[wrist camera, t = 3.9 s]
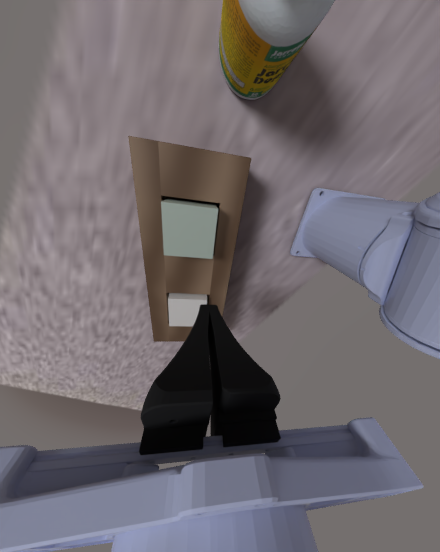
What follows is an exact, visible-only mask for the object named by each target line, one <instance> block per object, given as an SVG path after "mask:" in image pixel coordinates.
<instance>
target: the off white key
mask: <svg viewBox="0 0 440 552" xmlns="http://www.w3.org/2000/svg"><path fill="white" fill-rule="evenodd" d="M201 304H206V305H207V295H206V294H183V293H169V297H168V310H169V326H193V325H194V323H195V321H196V318H197V315H198V312H199V308H200V305H201Z"/></svg>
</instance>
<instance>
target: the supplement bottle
mask: <svg viewBox="0 0 440 552" xmlns="http://www.w3.org/2000/svg"><path fill="white" fill-rule="evenodd" d="M334 1H335V0H223V7H222V16H221V25H220V35H219V59H220V65H221V69H222V73H223V76H224V78H225V80H226V82H227V84H228V86H229V87H230V89H231V90H232V91H233V92H234V93H235V94H236V95H238V96H239V97H241V98H244V99H249V100H255V99H258V98H261V97H262V96H264V95H265V94H267V93H268V92H269V91H270V90H271V89H272V88H273V86H274V85H275V84H276V83H277V81H278V80H279V79H280V77H281V76H282V74H283V73H284V72H285V70H286V69H287V68H288V66H289V65H290V64H291V62H292V61H293V59H294V58H295V57H296V55H297V54H298V53H299V51H300V50H301V49H302V47H303V46H304V44H305V43H306V42H307V40H308V39H309V38H310V37H311V35H312V34H313V32H314V31H315V30H316V28H317V27H318V25H319V24H320V23H321V21H322V20H323V19H324V17H325V16H326V14H327V13H328V11H329V10H330V8H331V6H332V5H333V3H334Z"/></svg>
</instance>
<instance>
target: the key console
mask: <svg viewBox="0 0 440 552" xmlns="http://www.w3.org/2000/svg"><path fill="white" fill-rule="evenodd" d="M128 137H129V145H130V153H131V161H132V169H133V177H134V185H135V193H136V201H137V209H138V217H139V225H140V233H141V241H142V249H143V258H144V266H145V274H146V282H147V290H148V298H149V306H150V314H151V322H152V330H153V338H154V341H185V340H186V339H187V337H188V335H189V333H190V331H191V329H192V327H193V326H169V310H168V297H169V293H183V294H206V295H207V305H217V306H218V309H219V311H220V313H221V316H222V315H223V310H224V305H225V299H226V294H227V288H228V283H229V277H230V272H231V266H232V261H233V255H234V250H235V244H236V239H237V234H238V228H239V223H240V217H241V212H242V206H243V201H244V195H245V190H246V184H247V179H248V173H249V168H250V162H251V158H249V157H243V156H237V155H232V154H226V153H221V152H215V151H210V150H204V149H199V148H193V147H188V146H182V145H177V144H171V143H166V142H160V141H154V140H149V139H143V138H138V137H132V136H128ZM166 199H176V200H184V201H192V202H199V203H207V204H215V205H216V206H217V208H218V215H217V224H216V233H215V242H214V251H213V259H206V258H193V257H180V256H167V255H164V248H163V230H162V211H161V201H164V200H166Z"/></svg>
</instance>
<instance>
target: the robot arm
mask: <svg viewBox="0 0 440 552" xmlns="http://www.w3.org/2000/svg"><path fill="white" fill-rule="evenodd" d="M320 192H322V194H321V195H319V194H320ZM297 251H299V252H298V253H296V252H297ZM290 254H291V255H293V256H302V257H314V258H319V259H321V260H322V261H324V262H326V263H327V264H329V265H330V266H332V267H333V268H335V269H337V270H338V271H340V272H341V273H343V274H345V275H346V276H348V277H349V278H351V279H352V280H354V281H356V282H357V283H359V284H360V285H362V286H363V287H365V288H366V289H367V290H368V293H369V294H368V297H369V298H371V299H372V300H374V301H375V302H377V303H378V304H380V305H381V306H380V310H379V315H380V318H381V321H382V322H383V324H384V325H385V326H386V328H387V329H388V330H389V331H391V333H393V334H394V335H395V336H396V337H397V338H399V339H400V340H402V341H403V342H405V343H406V344H408V345H410V346H412V347H413V348H415V349H417V350H420V351H421V352H424V353H426V354H428V355H431V356H433V357H436V358H438V359H440V192H439V193H437V194H435V195H433V196H432V197H429V198H426V199H425V200H423V201H421V202H420V203H416V202H404V201H393V200H385V199H384V198H378V197H372V196H366V195H359V194H353V193H347V192H341V191H335V190H328V189H322V188H315V189H314V190H313V191H312V193H311V196H310V199H309V201H308V204H307V207H306V209H305V212H304V215H303V218H302V220H301V223H300V226H299V228H298V231H297V234H296V236H295V239H294V242H293V245H292V247H291V250H290ZM209 359H210V361H209ZM279 401H280V394H279V392H278V389H277V387H276V385H275V383H274V381H273V379H272V377H271V376H270V375H269V374H268V373H267V372H265V371H264V370H263V369H262V368H261V367H260V366H259V365H258V364H257V363H256V362H255V361H254V360H253V359H252V358H251V357H250V356H249V355H248V354H247V353H246V352H245V350H244V349H243V348H242V347H241V346H240V344H239V343H238V342H237V340H236V339H235V338H234V336H233V335H232V333H231V332H230V330H229V328H228V327H227V325H226V323H225V321H224V320H223V318H222V316H221V313H220V311H219V309H218V306H217V305H206V304H201V305H200V308H199V312H198V315H197V318H196V321H195V323H194V325H193V327H192V329H191V331H190V333H189V335H188V337H187V339H186V340H185V342H184V343H183V345H182V347H181V348H180V350H179V351H178V352H177V354H176V355H175V357H174V358H173V359H172V360H171V362H170V363H169V364H168V366H167V367H166V368H165V369H164V370H163V371H162V372H161V374H160V375H159V376H158V377H157V378H156V379H155V380H154V382H153V384H152V386H151V388H150V390H149V392H148V394H147V397H146V399H145V402H144V405H143V409H142V413H141V420H142V423H143V425H144V432H143V436H142V440H141V442H139V443H127V444H116V445H104V446H92V447H80V448H68V449H56V450H45V451H37V449H36V448H35V447H33V446H28V445H21V446H20V445H19V446H6V447H0V552H49V551H56V550H62V549H69V548H76V547H83V546H90V545H96V544H103V543H110V542H113V546H112V550H111V552H318V549H317V546H316V543H315V540H314V536H313V533H312V530H311V527H310V523H309V520H308V517H307V514H306V511H307V510H312V509H318V508H323V507H329V506H335V505H340V504H346V503H352V502H357V501H363V500H369V499H375V498H381V497H388V496H392V495H396V494H400V493H404V492H409V491H413V490H417V489H421V488H423V484H422V483H421V482H420V481H419V479H418V478H417V476H416V475H415V474H414V472H413V471H412V470H411V468H410V467H409V465H408V464H407V463H406V461H405V460H404V458H403V457H402V456H401V454H400V453H399V451H398V450H397V449H396V447H395V446H394V445H393V443H392V442H391V441H390V439H389V438H388V436H387V435H386V434H385V432H384V431H383V429H382V428H381V427H380V425H379V424H378V423H377V421H376V420H375V419H374V418H372V417H370V418H358V419H354V420H352V421H350V422H349V423H348V424H347V425H339V426H327V427H315V428H304V429H292V430H281V431H279V430H278V427H277V423H276V419H277V417H276V414H275V410H274V409H275V408H276V406H277V405H278V403H279ZM210 415H211V436H209V437H206V431H207V427H208V424H209V420H210ZM261 453H265V454H261ZM192 460H194V461H192ZM182 461H191V462H189V463H186V464H185V465H181V466H176V467H171V468H166V469H161V470H159V466H158V465H154V464H163V463H172V462H182Z"/></svg>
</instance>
